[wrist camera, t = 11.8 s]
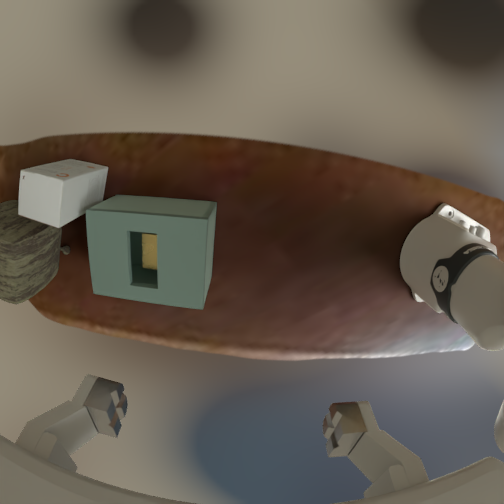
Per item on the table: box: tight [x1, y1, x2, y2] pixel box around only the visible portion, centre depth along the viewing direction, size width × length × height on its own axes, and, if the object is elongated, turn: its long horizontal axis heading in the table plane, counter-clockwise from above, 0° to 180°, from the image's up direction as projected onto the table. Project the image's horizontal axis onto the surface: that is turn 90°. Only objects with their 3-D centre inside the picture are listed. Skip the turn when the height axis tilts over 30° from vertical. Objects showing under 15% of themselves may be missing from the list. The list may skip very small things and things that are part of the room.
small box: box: [18, 159, 108, 228], centre depth 35 cm, size 8×6×13 cm
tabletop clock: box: [0, 200, 70, 304], centre depth 32 cm, size 14×9×25 cm, turn 68°
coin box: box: [86, 195, 217, 310], centre depth 40 cm, size 16×12×10 cm
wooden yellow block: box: [142, 232, 157, 270], centre depth 41 cm, size 2×5×6 cm, turn 173°
